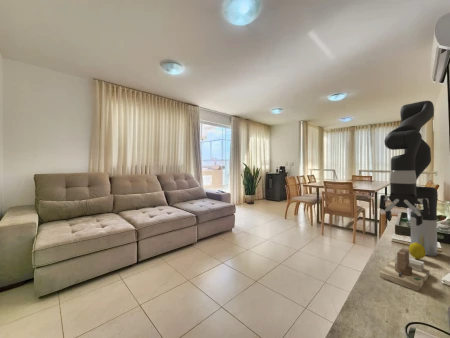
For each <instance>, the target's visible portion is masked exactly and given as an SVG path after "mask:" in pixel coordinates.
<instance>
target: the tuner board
mask: <svg viewBox="0 0 450 338" xmlns="http://www.w3.org/2000/svg"><path fill="white" fill-rule="evenodd" d="M394 257H395V258H393V259H392V260H391V261H390V262H389V263H388V264H387V265H386V266H385V267H383V269H381V270H380V271H379V277H380V278H382V279H384V280H387V281H390V282H393V283H395V284H398V285H401V286H403V287H406V288H408V289H411V290H413V291H416V292H419V291H420V289H422V287H423V285H424V284H425V283H426V281H427V279H428V277H429V276H430V270H431V269H429V268H426V267H425V262H424V261H421V260H419V259H415V258H414V259H413V258H410V257H409V266H411V267H412V275H411V276H407V275H403V274H402V275H401V276H399V273H398V272H396V271H395V263H397V256H394Z"/></svg>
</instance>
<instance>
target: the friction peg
mask: <svg viewBox="0 0 450 338" xmlns="http://www.w3.org/2000/svg"><path fill="white" fill-rule="evenodd" d="M396 255H397V256H396V257H397V263H395V271H396V272H398V273H399V276H401V275H402V274H403V275H407V276H411V275H412V267H411V266H409V258H410V252H409V248H405V247H402V248H401V249H399V250H398V251H397V252H396Z"/></svg>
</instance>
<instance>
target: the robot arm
mask: <svg viewBox="0 0 450 338" xmlns="http://www.w3.org/2000/svg"><path fill="white" fill-rule="evenodd" d="M434 113H435V106H434V104H433V102H432V101H431V100H422V101H417V102H413V103H408V104H407V103H406V104H404V105H402V106H401V107H400V121H401V123H400V124H399V125H398V127H397V128H395V129H393V130H391V131H390V132H388V133H387V134H386V136H385V138H384V146H385V147H386V148H387V149H389V150H392V151H394V150H395V151H396V150H404V151H403V152H404V153H403V154H398V155H394V156H392V157H391V158H390V175H389V176H390V177H389V182H390V183H389V184H390V185H389V186H390V187H389V188H390V190H389V192H390V194H389V195H387V194H381V195H380V198H379V209H380V210H383V211H385V219H386V220H387V222H390V221H391V220H392V211H391V210H392V209H393V208H395V207H396V208H404V209H410V210H411V211H410V244H412V243H416V242H417V243H419V244H421V245H422V246H423V247H424V248H425V252H426V254H425V256H431V257H432V256H434V257H435V256H438V226H437V225H438V200H439V197H438V196H439V195H438V189H437V188H435V187H434V186H433V187H432V186H420V185H418V186H417V181H418V179H419V177H420V176H421V175H422V173H424V171H425V170H426V169H427V168H428V166H429V165H431V162H432V151H431V147H430V145H429V144H428V143H427V142H426V141H425V140H424V139H423V136H422V133H421V130H422V127H423V126H425V125H426V124H427V123H428V122H429V121H430V120H432V118H433V116H434ZM388 199H389V201H390V202H391V203H390V204H388V206H386V201H388ZM417 205H421V206H422V209H419V207H418V206H417Z"/></svg>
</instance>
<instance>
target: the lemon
mask: <svg viewBox="0 0 450 338" xmlns="http://www.w3.org/2000/svg"><path fill="white" fill-rule="evenodd" d="M408 249H409V255H410V256H412V257H413V258H414V259H415V260H420V259H423V258H425V257H426V255H425V254H426V252H425V248H424V247H423V246H422V245H421V244H419V243H417V242H416V243H412V244H411V243H410V244H409V246H408Z"/></svg>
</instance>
